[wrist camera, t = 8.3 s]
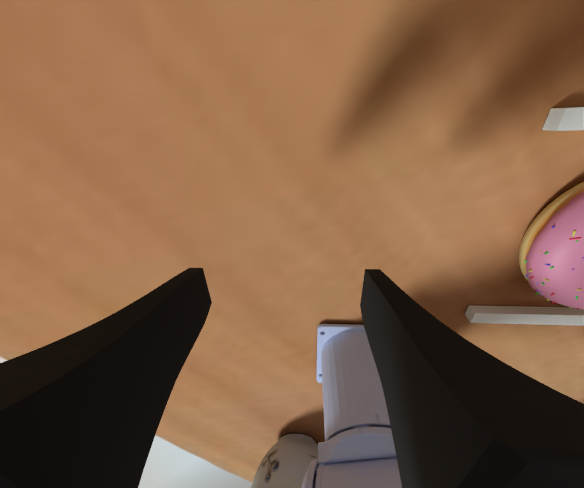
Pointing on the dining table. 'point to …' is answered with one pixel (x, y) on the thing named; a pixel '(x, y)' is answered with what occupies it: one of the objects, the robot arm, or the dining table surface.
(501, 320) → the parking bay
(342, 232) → the dining table surface
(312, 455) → the teacup
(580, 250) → the doughnut
